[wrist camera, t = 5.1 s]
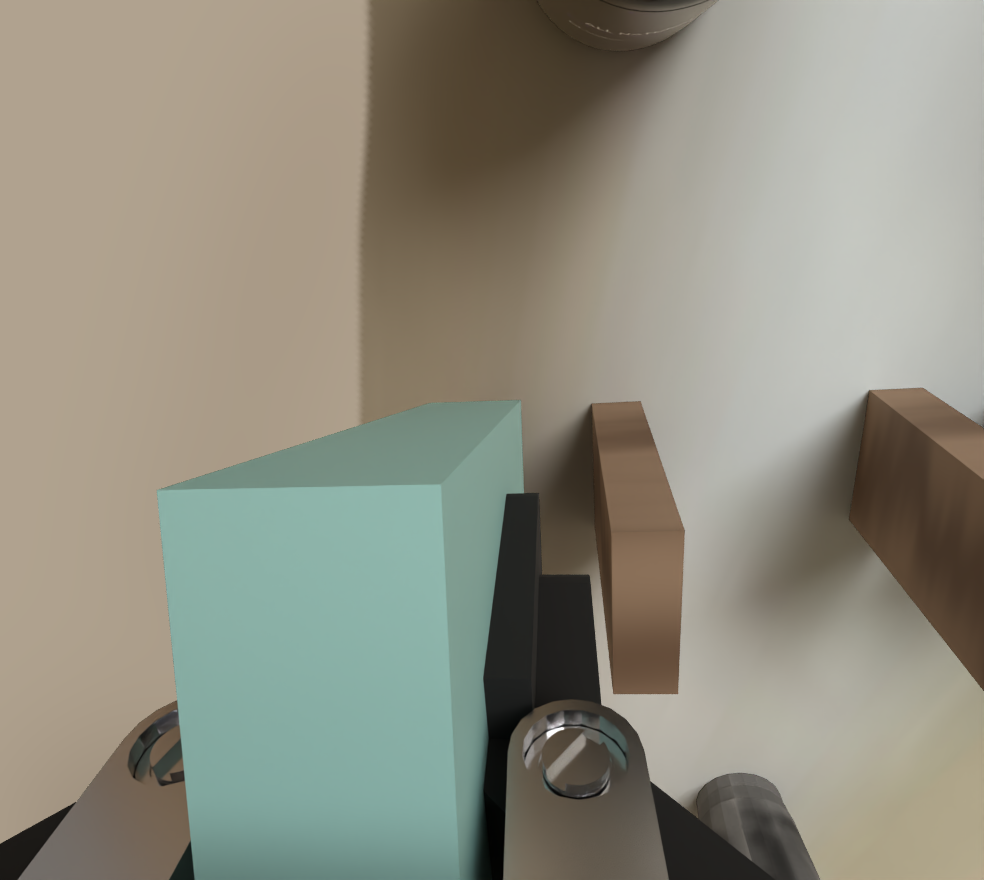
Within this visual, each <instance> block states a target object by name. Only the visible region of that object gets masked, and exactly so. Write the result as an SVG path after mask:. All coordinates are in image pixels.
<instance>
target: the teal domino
mask: <svg viewBox="0 0 984 880" xmlns="http://www.w3.org/2000/svg"><path fill="white" fill-rule="evenodd" d="M512 493H524V482H523V452H522V422H521V400H505V401H474V402H444V403H428V404H425V405H422V406H419V407H416V408H413V409H409V410H406V411H403V412H400V413H397V414H394V415H391V416H388V417H384V418H381V419H378V420H375V421H372V422H369V423H366V424H362V425H359V426H356V427H353V428H350V429H347V430H344V431H341V432H337V433H334V434H331V435H328V436H325V437H322V438H319V439H315V440H312V441H309V442H307V443H303V444H300V445H297V446H294V447H290V448H287V449H284V450H281V451H278V452H275V453H272V454H269V455H265V456H263V457H259V458H256V459H253V460H250V461H247V462H244V463H240V464H237V465H234V466H231V467H228V468H225V469H222V470H218V471H215V472H213V473H209V474H206V475H203V476H200V477H196V478H193V479H190V480H187V481H184V482H181V483H178V484H175V485H171V486H168V487H165V488H162V489H159V490H157V497H158V508H159V518H160V529H161V538H162V549H163V559H164V570H165V580H166V590H167V600H168V611H169V621H170V631H171V641H172V651H173V662H174V673H175V682H176V692H177V703H178V714H179V724H180V734H181V744H182V755H183V765H184V775H185V786H186V796H187V806H188V816H189V827H190V837H191V847H192V857H193V868H194V878H195V880H492V872H491V862H490V852H489V842H488V832H487V822H486V812H485V802H484V792H483V788H484V779H485V769H486V759H487V750H488V740H489V737H488V726H487V715H486V704H485V693H484V683H483V675H484V667H485V659H486V651H487V643H488V635H489V627H490V619H491V611H492V603H493V595H494V587H495V580H496V572H497V564H498V556H499V548H500V540H501V532H502V524H503V516H504V508H505V500H506V494H512Z"/></svg>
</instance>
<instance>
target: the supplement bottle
mask: <svg viewBox="0 0 984 880" xmlns="http://www.w3.org/2000/svg"><path fill="white" fill-rule="evenodd" d="M537 1H538V3H539V4H540V6H541V8H542V9H543V11H544V12H545V13H546V14H547V16H548V17H549V18H550V19H551V20H552V22H553V23H554V24H555V25H556V26H557V27H559V28H560V29H561V30H562V31H563V32H564V33H566V34H567V35H569V36H570V37H572V38H573V39H575V40H577V41H579V42H581V43H583V44H585V45H588V46H590V47H594V48H597V49H601V50H608V51H630V50H636V49H641V48H644V47H648V46H651V45H654V44H656V43H659V42H661V41H663V40H665V39H667V38H669V37H670V36H672V35H674V34H675V33H677V32H678V31H680V30H681V29H683V28H684V27H686V26H687V25H688V24H690V23H691V22H692V21H693V20H695V19H696V18H697V17H698V16H700V15H701V14H702V13H703V12H705V11H706V10H707V9H708V8H710V7H711V6H712V5H713V4H715V3H716V2H717V1H718V0H537Z"/></svg>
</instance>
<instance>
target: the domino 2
mask: <svg viewBox="0 0 984 880" xmlns="http://www.w3.org/2000/svg"><path fill="white" fill-rule="evenodd" d="M849 520H850V522H851V523H852V524H853V525H854V527H855V528H856V529H857V530H858V532H859V533H860V534H861V535H862V537H863V538H864V539H865V541H866V542H867V543H868V544H869V546H870V547H871V548H872V549H873V551H874V552H875V553H876V555H877V556H878V557H879V558H880V560H881V561H882V562H883V563H884V565H885V566H886V567H887V569H888V570H889V571H890V572H891V574H892V575H893V576H894V577H895V579H896V580H897V581H898V582H899V584H900V585H901V586H902V588H903V589H904V590H905V591H906V593H907V594H908V595H909V596H910V598H911V599H912V600H913V602H914V603H915V604H916V605H917V607H918V608H919V609H920V610H921V612H922V613H923V614H924V616H925V617H926V618H927V619H928V621H929V622H930V623H931V624H932V626H933V627H934V628H935V630H936V631H937V632H938V633H939V635H940V636H941V637H942V638H943V640H944V641H945V642H946V643H947V645H948V646H949V647H950V649H951V650H952V651H953V652H954V654H955V655H956V656H957V657H958V659H959V660H960V661H961V663H962V664H963V665H964V666H965V668H966V669H967V670H968V671H969V673H970V674H971V675H972V677H973V678H974V679H975V680H976V682H977V683H978V684H979V685H980V687H981V688H982V689H983V691H984V428H983V427H981V426H980V425H978V424H977V423H975V422H974V421H972V420H971V419H969V418H968V417H966V416H965V415H963V414H962V413H960V412H958V411H957V410H955V409H954V408H952V407H951V406H949V405H948V404H946V403H945V402H943V401H942V400H940V399H939V398H937V397H936V396H934V395H933V394H931V393H930V392H928V391H927V390H925V389H924V388H908V389H887V390H869V396H868V403H867V409H866V415H865V422H864V428H863V434H862V440H861V447H860V453H859V459H858V466H857V472H856V478H855V485H854V491H853V497H852V504H851V510H850V516H849Z"/></svg>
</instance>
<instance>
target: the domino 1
mask: <svg viewBox="0 0 984 880" xmlns="http://www.w3.org/2000/svg"><path fill="white" fill-rule="evenodd" d="M592 431H593V474H594V516H595V533H596V542H597V551H598V560H599V569H600V578H601V587H602V596H603V605H604V614H605V623H606V632H607V641H608V650H609V659H610V668H611V678H612V687H613V694H678V680H679V656H680V631H681V607H682V583H683V559H684V535H685V530H684V527H683V524H682V521H681V518H680V516H679V513H678V510H677V507H676V504H675V501H674V498H673V495H672V492H671V489H670V486H669V483H668V480H667V477H666V475H665V472H664V469H663V466H662V463H661V460H660V457H659V454H658V451H657V448H656V445H655V442H654V439H653V436H652V434H651V431H650V428H649V425H648V422H647V419H646V416H645V413H644V410H643V407H642V404H641V401H638V402H617V403H596V404H592Z"/></svg>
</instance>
